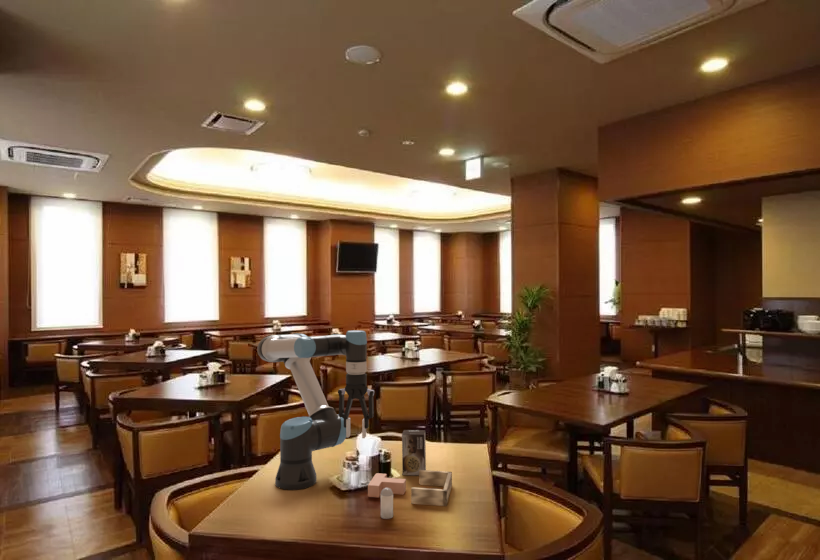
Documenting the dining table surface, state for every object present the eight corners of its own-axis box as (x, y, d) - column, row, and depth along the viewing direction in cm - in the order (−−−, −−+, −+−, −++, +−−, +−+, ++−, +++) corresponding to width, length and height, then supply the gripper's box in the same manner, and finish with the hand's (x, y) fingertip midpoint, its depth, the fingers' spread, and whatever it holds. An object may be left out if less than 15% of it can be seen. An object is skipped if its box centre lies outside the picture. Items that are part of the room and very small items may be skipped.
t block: (367, 496, 176) (367, 485, 176) (376, 483, 187) (376, 473, 188) (401, 499, 174) (401, 487, 174) (407, 486, 185) (407, 475, 185)
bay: (411, 503, 170) (411, 488, 170) (419, 483, 188) (419, 469, 188) (446, 506, 168) (446, 491, 168) (451, 485, 186) (451, 471, 186)
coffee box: (426, 470, 202) (426, 429, 202) (425, 476, 195) (424, 434, 196) (403, 469, 203) (403, 429, 203) (401, 475, 196) (401, 433, 197)
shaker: (379, 518, 159) (379, 489, 159) (382, 512, 162) (382, 485, 163) (391, 519, 158) (391, 490, 158) (394, 513, 162) (394, 486, 162)
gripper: (329, 373, 182) (328, 438, 181) (378, 375, 179) (378, 441, 178) (335, 370, 189) (335, 432, 188) (383, 372, 186) (383, 435, 185)
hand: (356, 436), depth 183 cm, fingers open, 5 cm apart
